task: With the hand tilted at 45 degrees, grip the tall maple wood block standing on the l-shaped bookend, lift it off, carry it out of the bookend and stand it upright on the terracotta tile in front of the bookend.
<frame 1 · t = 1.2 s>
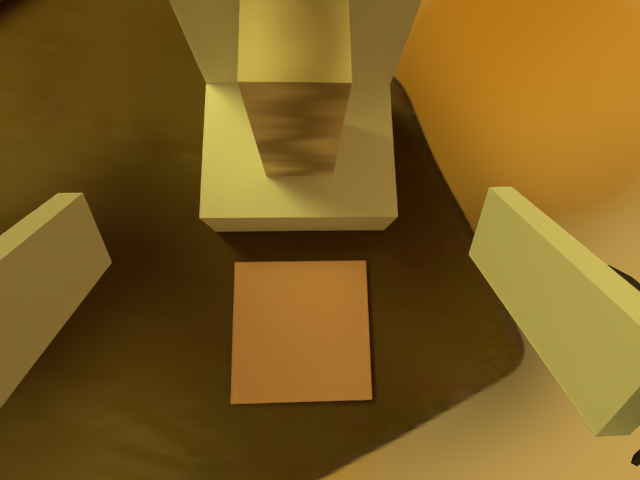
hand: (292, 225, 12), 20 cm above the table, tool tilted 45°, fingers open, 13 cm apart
maple block: (299, 148, 29), point 5 cm above the table, touching l-shaped bookend
l-shaped bookend: (300, 161, 34), on the table
tile pad: (301, 328, 31), on the table
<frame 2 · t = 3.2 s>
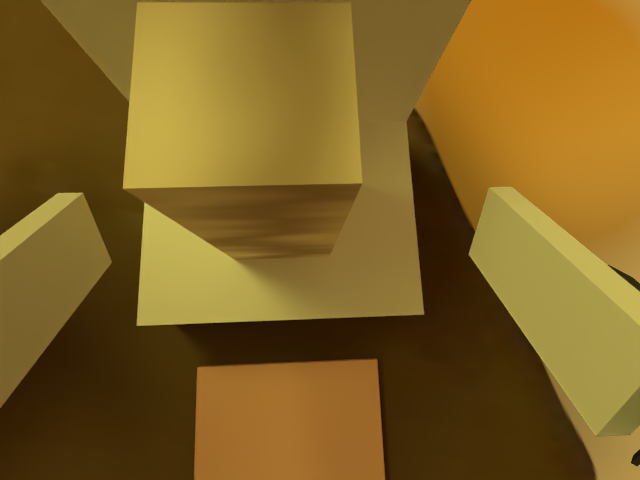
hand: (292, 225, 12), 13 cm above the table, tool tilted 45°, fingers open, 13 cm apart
maple block: (281, 216, 20), point 5 cm above the table, touching l-shaped bookend
l-shaped bookend: (286, 220, 25), on the table
tile pad: (290, 458, 22), on the table
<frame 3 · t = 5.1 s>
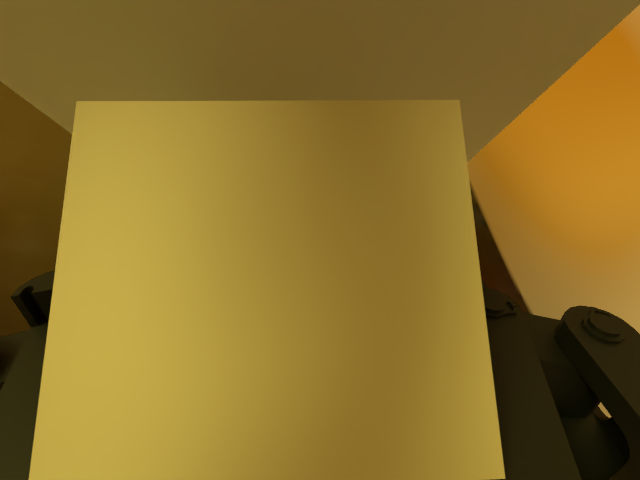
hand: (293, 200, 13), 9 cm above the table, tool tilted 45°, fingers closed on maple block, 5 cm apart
maple block: (297, 299, 16), point 5 cm above the table, touching gripper, l-shaped bookend
l-shaped bookend: (300, 284, 21), on the table
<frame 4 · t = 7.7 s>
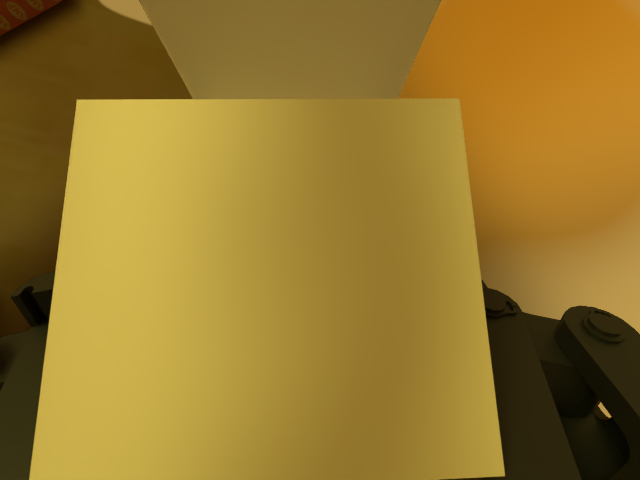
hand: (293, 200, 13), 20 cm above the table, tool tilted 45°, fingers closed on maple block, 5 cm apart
maple block: (298, 298, 16), point 17 cm above the table, touching gripper
l-shaped bookend: (297, 195, 34), on the table
when the fingers open (6 cm above the table, at t = 10.4 s): maple block drops 1 cm, resting on tile pad.
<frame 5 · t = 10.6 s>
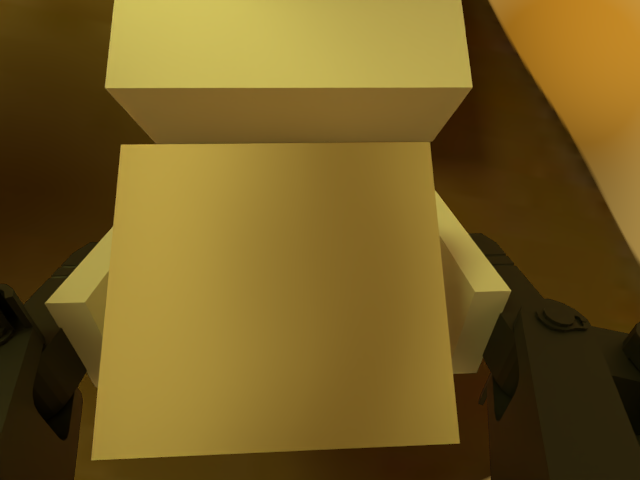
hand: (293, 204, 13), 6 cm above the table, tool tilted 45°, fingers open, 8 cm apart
maple block: (298, 300, 17), point 1 cm above the table, touching tile pad
l-shaped bookend: (294, 38, 21), on the table
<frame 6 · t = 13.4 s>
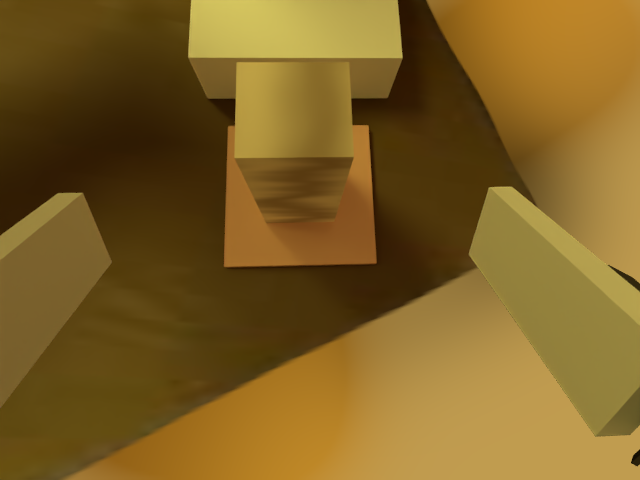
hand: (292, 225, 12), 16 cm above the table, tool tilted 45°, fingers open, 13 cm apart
maple block: (299, 192, 28), point 1 cm above the table, touching tile pad
l-shaped bookend: (297, 31, 32), on the table
tile pad: (300, 194, 28), on the table
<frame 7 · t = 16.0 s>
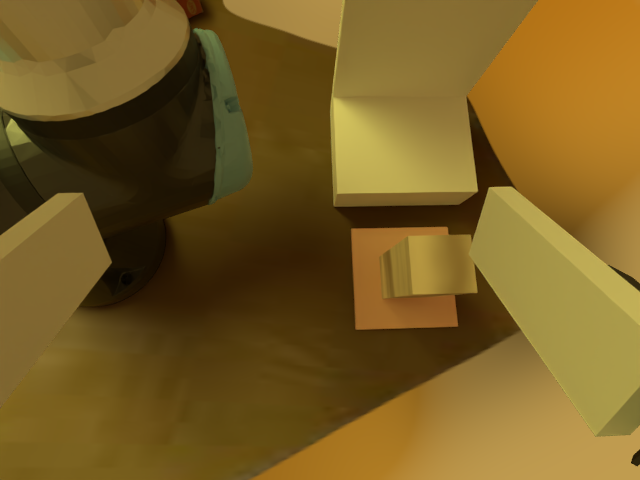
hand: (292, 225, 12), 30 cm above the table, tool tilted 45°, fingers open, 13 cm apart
maple block: (403, 276, 41), point 1 cm above the table, touching tile pad
l-shaped bookend: (392, 154, 44), on the table
tile pad: (402, 276, 41), on the table
carton: (140, 17, 48), on the table
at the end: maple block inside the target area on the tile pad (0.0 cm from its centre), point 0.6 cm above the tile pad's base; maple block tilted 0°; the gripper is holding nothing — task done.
